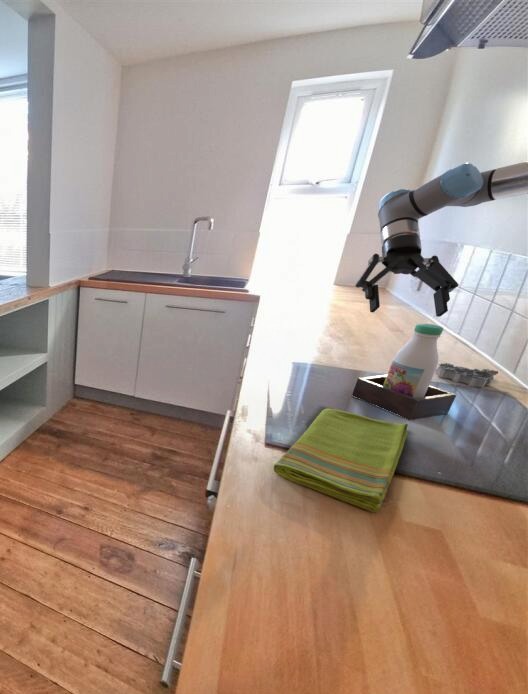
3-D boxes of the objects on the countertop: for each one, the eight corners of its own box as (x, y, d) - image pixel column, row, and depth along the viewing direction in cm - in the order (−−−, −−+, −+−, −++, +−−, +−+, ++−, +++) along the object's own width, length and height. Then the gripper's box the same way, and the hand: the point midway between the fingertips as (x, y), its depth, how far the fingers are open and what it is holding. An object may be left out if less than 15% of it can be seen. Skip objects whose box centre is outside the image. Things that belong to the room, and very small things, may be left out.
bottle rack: (447, 413, 97) (456, 394, 95) (408, 420, 94) (417, 400, 92) (387, 391, 109) (394, 373, 107) (351, 396, 106) (357, 378, 104)
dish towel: (270, 474, 75) (274, 459, 74) (321, 412, 97) (325, 400, 96) (377, 517, 65) (384, 500, 63) (407, 436, 87) (413, 423, 86)
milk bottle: (398, 397, 105) (430, 321, 97) (427, 411, 98) (464, 330, 90) (369, 398, 105) (398, 321, 97) (396, 412, 98) (429, 330, 90)
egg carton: (494, 385, 112) (502, 371, 110) (477, 389, 110) (484, 375, 108) (447, 371, 121) (453, 358, 119) (430, 374, 119) (435, 361, 117)
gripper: (449, 253, 109) (459, 323, 102) (338, 250, 116) (341, 315, 109) (471, 233, 102) (484, 306, 95) (351, 231, 109) (356, 299, 102)
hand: (407, 311), depth 102 cm, fingers open, 13 cm apart
